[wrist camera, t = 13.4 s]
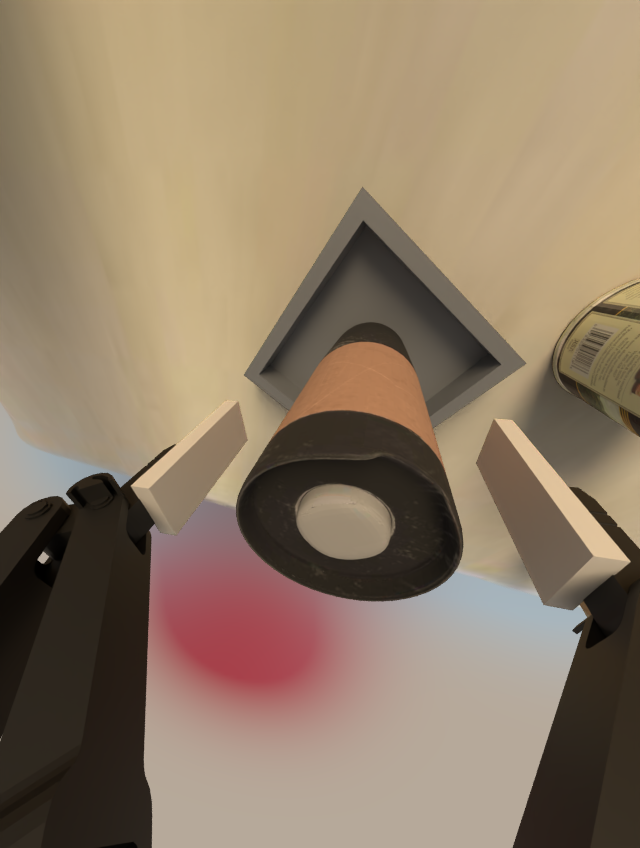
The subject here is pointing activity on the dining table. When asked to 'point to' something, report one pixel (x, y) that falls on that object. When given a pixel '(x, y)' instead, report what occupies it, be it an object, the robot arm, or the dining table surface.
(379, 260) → the bin
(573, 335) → the coffee can
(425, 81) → the dining table surface
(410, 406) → the travel mug
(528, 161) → the dining table surface
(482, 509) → the dining table surface
